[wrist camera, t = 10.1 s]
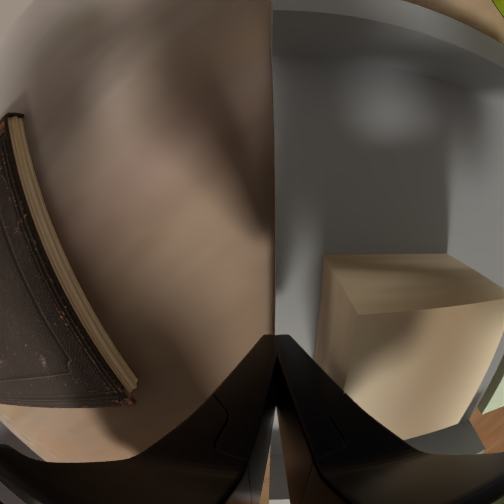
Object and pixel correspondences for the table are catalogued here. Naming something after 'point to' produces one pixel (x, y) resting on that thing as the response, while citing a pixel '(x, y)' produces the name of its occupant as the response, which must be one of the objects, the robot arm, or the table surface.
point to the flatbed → (382, 159)
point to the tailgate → (494, 391)
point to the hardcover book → (46, 303)
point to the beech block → (408, 335)
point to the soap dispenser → (500, 5)
